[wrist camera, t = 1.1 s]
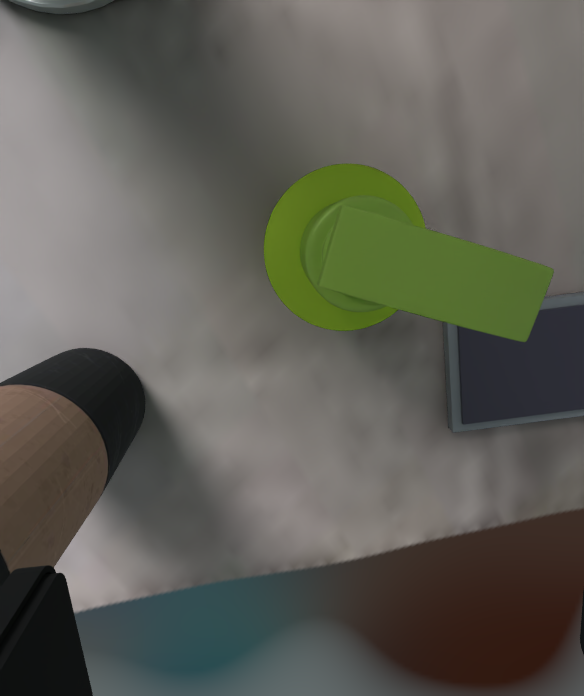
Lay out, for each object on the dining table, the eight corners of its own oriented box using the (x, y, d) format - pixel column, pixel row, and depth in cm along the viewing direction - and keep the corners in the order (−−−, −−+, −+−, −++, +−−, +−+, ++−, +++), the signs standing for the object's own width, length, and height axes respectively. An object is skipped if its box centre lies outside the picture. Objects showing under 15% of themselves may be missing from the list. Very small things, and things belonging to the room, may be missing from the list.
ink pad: (442, 309, 32) (448, 313, 31) (598, 289, 32) (610, 292, 31) (448, 427, 34) (454, 434, 33) (595, 408, 34) (607, 414, 33)
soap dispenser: (363, 304, 32) (506, 425, 12) (256, 275, 31) (229, 353, 12) (392, 211, 31) (602, 181, 11) (281, 178, 30) (299, 86, 10)
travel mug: (174, 413, 33) (34, 679, 14) (83, 477, 34) (-173, 815, 14) (97, 318, 31) (-188, 467, 12) (3, 388, 32) (-407, 632, 13)
